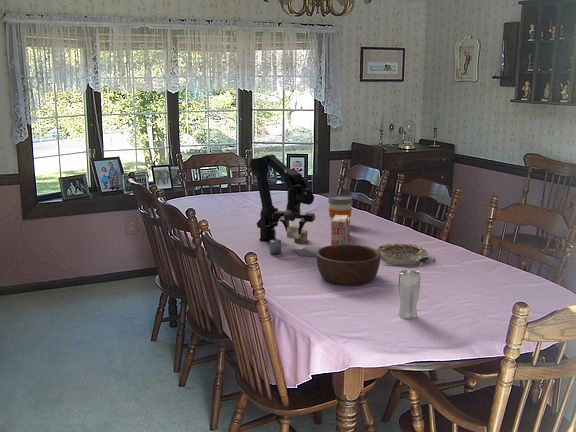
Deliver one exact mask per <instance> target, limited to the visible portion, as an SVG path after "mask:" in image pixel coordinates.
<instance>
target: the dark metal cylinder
mask: <svg viewBox="0 0 576 432" xmlns="http://www.w3.org/2000/svg"><path fill="white" fill-rule="evenodd" d="M270 254H271V255H270ZM269 255H270V256H280V255H282V240H281V239H280V238H279V239H277V238H275V239H272V240H270V241H269Z"/></svg>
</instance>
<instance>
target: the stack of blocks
mask: <svg viewBox="0 0 576 432" xmlns="http://www.w3.org/2000/svg"><path fill="white" fill-rule="evenodd" d="M350 220H351V217H348V215H335V217H334V218H333V220H332V226H331V233H330V234H331V235H330V236H331V237H330V239H331V241H330V245H338V244H348V240H349V238H350V236H351V221H350Z"/></svg>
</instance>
